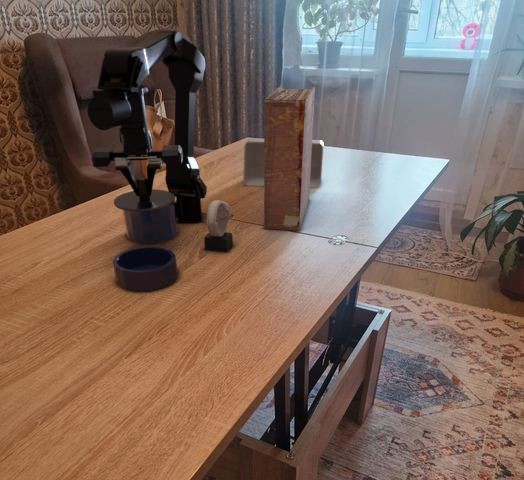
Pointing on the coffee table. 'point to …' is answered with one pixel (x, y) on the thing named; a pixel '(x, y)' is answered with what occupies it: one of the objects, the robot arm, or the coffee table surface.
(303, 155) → the book
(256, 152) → the white rounded tray
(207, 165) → the coffee table surface
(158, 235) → the pot
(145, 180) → the lid
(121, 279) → the pan
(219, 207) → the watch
